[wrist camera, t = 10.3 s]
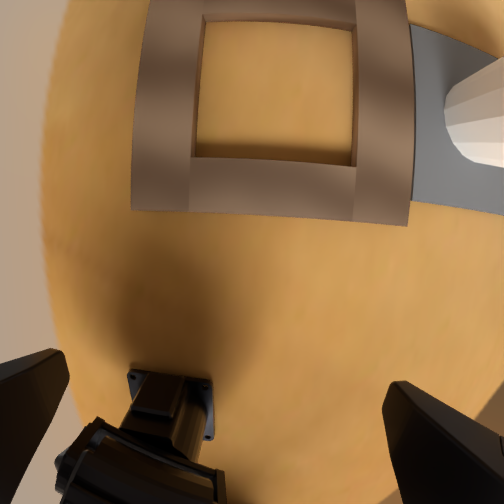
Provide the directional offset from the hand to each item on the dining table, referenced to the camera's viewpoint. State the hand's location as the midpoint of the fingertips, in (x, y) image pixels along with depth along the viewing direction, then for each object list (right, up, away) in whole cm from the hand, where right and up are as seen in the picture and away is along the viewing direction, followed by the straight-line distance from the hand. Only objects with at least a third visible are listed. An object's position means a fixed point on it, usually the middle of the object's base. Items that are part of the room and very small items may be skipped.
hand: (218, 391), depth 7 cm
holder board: (+2, +13, +9) cm, 16 cm away
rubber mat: (+16, +12, +9) cm, 22 cm away
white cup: (+16, +12, +8) cm, 21 cm away
